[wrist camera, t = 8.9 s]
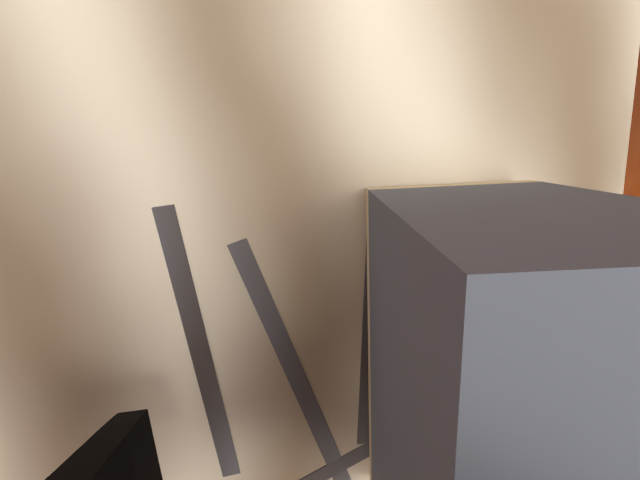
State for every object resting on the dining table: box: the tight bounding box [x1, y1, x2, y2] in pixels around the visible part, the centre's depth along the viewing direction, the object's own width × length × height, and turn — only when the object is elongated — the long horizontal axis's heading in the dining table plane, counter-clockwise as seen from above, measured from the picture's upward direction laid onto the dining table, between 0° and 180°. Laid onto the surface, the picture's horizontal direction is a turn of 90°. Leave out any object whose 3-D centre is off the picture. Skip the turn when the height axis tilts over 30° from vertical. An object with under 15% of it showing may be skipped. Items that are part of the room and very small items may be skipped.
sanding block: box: [366, 180, 640, 480], centre depth 7 cm, size 4×9×6 cm, turn 3°
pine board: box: [0, 0, 640, 480], centre depth 10 cm, size 20×20×1 cm
